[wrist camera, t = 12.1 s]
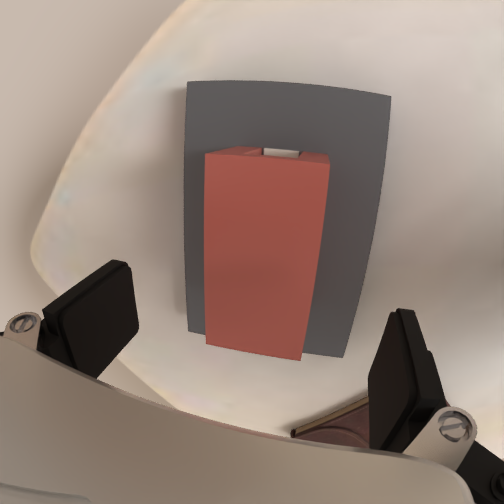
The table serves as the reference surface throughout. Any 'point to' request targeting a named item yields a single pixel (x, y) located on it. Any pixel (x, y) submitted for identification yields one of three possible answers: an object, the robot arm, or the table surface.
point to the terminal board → (292, 145)
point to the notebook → (340, 427)
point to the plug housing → (261, 248)
